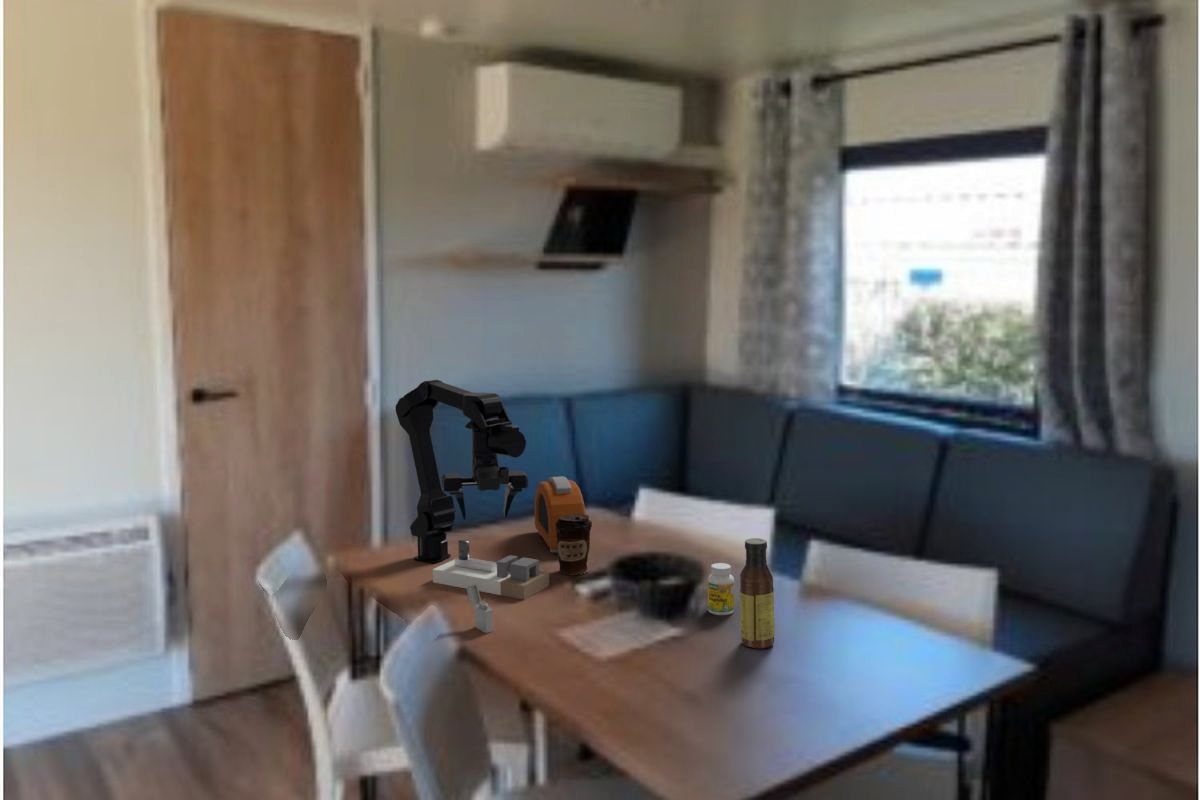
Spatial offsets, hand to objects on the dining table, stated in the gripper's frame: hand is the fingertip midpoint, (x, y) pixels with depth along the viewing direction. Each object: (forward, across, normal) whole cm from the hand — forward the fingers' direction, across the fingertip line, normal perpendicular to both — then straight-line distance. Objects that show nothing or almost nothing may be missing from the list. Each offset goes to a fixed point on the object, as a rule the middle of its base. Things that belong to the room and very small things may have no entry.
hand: (484, 518), depth 225 cm
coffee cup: (+13, +20, -3) cm, 24 cm away
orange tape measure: (+14, +22, +21) cm, 33 cm away
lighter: (+13, -5, -32) cm, 34 cm away
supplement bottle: (+12, +43, -35) cm, 57 cm away
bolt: (+10, -3, -4) cm, 11 cm away
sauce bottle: (+12, +44, -53) cm, 70 cm away
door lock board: (+13, 0, -7) cm, 15 cm away
